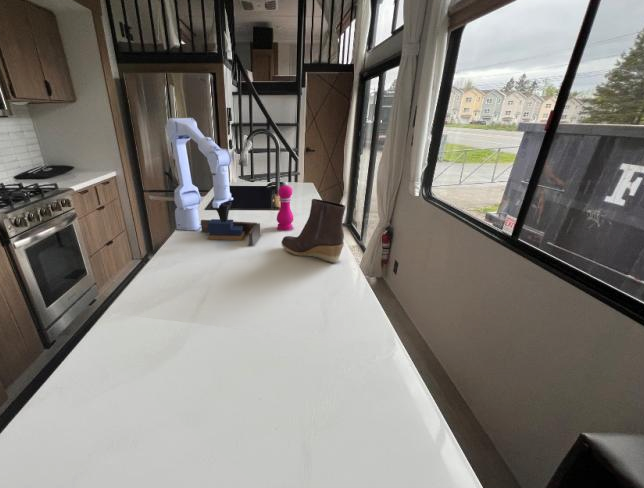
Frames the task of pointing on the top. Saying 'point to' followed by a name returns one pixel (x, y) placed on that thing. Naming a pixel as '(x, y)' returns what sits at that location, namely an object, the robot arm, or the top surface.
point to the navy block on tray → (248, 227)
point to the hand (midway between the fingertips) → (224, 221)
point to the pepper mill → (285, 208)
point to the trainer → (225, 230)
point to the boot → (320, 232)
